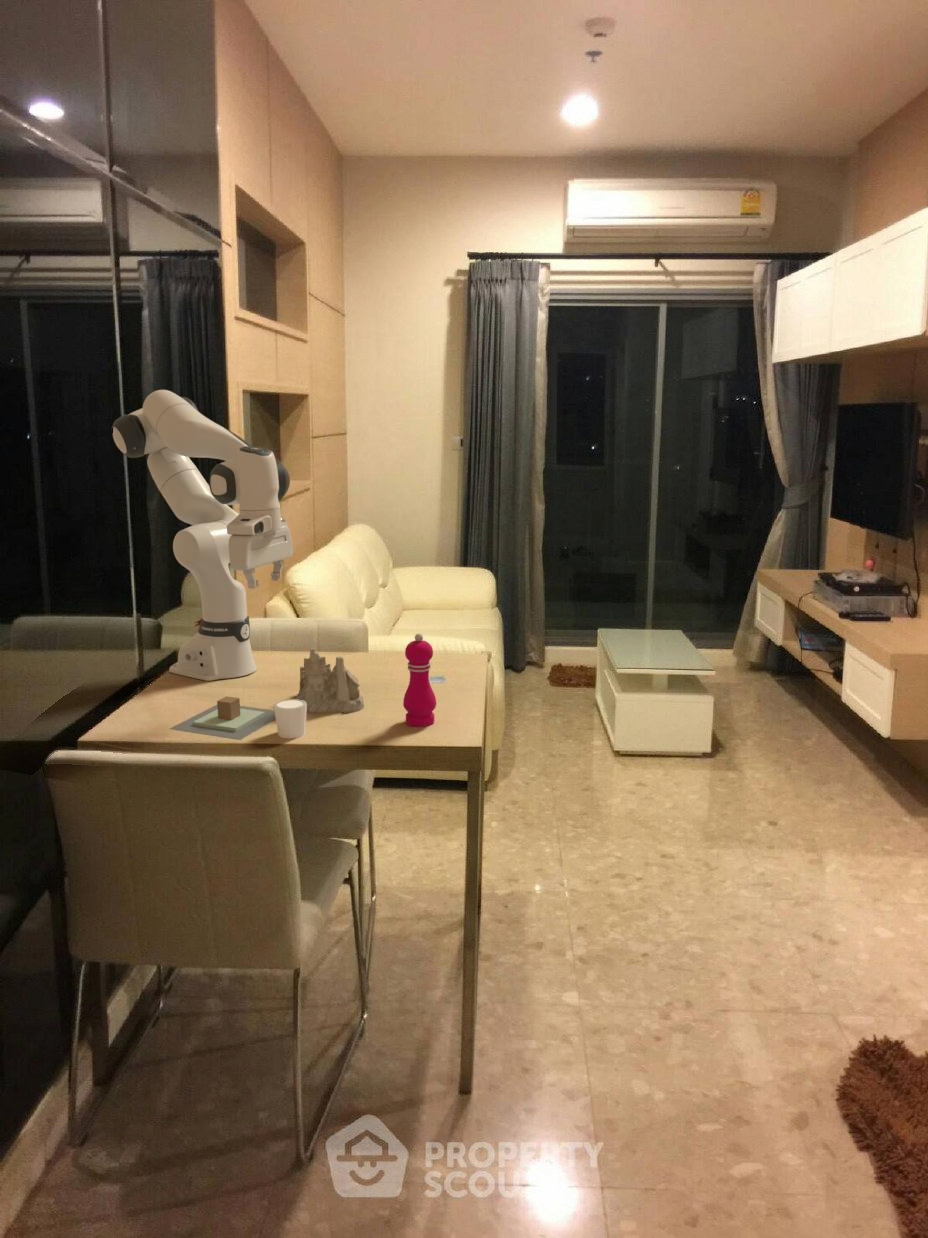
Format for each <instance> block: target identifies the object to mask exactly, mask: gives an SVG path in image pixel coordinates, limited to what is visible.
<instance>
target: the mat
mask: <svg viewBox="0 0 928 1238" xmlns="http://www.w3.org/2000/svg"><path fill="white" fill-rule="evenodd" d="M217 709H218V708H217V704H216V705H213V706H211V707H210V708H208V709H206V710H204V711H201V712H199V713H198V714H195V715H194V716H191V717H189V718H187V719H186V720H183V721H182V722H179V723H178V724H176V725H174V726H171V727H170V728H169V730H175V731H180V732H181V731H182V732H185V733H186V732H187V733H193V734H201V735H206V736H211V737H213V736H214V737H218V738H226V739H232V740H239V741H241V740H244V738H246V737H248V736H249V735H251V734H253V733H255V732H256V731H257V732H258V730H259V729H261V728H263V727H266V726H268V724H270V723H272V722H274V721H276V717H275V711H274V709H273V710H272V709H266V708H258V707H252V706H245V705H240V709H247V710H254V711H261V712H265V716H263V717H261V718H260V719H258V720H256V721H254V722H253V723H251V724H249V725H247V726H246V727H244V728H242V729H240V730H239V731H237V732H233V731H227V730H220V729H213V728H207V727H200V726H194V725H193V722H194V721H196V720H198V719H200V718H201V717H203V716H205V715H207V714H209V713H211V712H213V711H215V710H217Z"/></svg>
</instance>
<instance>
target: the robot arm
mask: <svg viewBox="0 0 928 1238" xmlns="http://www.w3.org/2000/svg"><path fill="white" fill-rule="evenodd" d="M112 428H113V433H112V438H113V441H114V443H115V445H116V447H117V449H118V450H120V452H121V453H122V454H123V455H124V456H126V457H127V458H131V459H133V458H134V459H135V458H140V457H144V456H145V455H147V454H148V457H147V460H146V461H147V467H148V470H149V472H150V475H151V478H152V480H153V481H154V483H155V485H156V487H157V489H158V491H159V492H160V494H161V495H162V497H163V498H164V500H165V501H166V503H167V504H168V506H169V508H170V510H172V512H173V514H174V516H175V517H176V518H177V519H178V520H180V521H182V522H184V523H186V524H189V525H190V526H188V527H185V528H184V529H181V530H179V531H178V532H177V533H176V534H175V536H174V539H173V540H172V541H173V543H172V551H173V555H174V557H175V559H176V561H177V562H178V563H179V564H180V565H181V567H184V568H185V569H186V570H188V571H189V572H190V573H191V575H192V576H193V577H194V580H195V581H196V583H197V586H198V590H199V594H200V602H201V609H202V617H201V618H200V619H199V620H197V621H195V622H194V624H195V625H194V627H198V629H197V632H196V633H195V634H194V635H193V636H192V637H191V638H189V639H188V640H187V641H186V642H184V643H183V644H182V645H181V646H180V648H179V651H178V656H177V662H175V663H174V664H172V665H170V667H169V673H172V674H176V675H179V676H184V677H189V678H193V679H197V680H201V681H202V680H203V681H206V682H208V681H209V682H210V681H216V680H222V679H232V678H233V679H234V678H239V677H243V676H244V677H245V676H247V675H251V674H253V673H254V672H256V671H257V669H258V667H257V665H256V662H255V658H254V655H253V650H252V646H251V640H250V635H251V626H250V625H251V624H250V616H248V607H247V606H248V605H247V590H246V587H245V586H244V584H243V583H242V582H240V581H239V580H238V579H234V577H232V574H231V572H230V569H229V564H230V566H231V568H232V569H233V571H241V572H242V573H243V576H244V578H245V579H246V581H247V589H251V590H253V589H257V588H259V579H256V575H255V573H256V569H257V568H259V567H262V566H266V565H269V564H272V565H273V569H272V572H270V577H271V581H273V582H274V581H276V582H277V581H280V580H282V571H283V569H284V568H283V567H284V564H285V563H284V560H285V559H289V558H292V556H293V555H294V554H293V553H294V547H293V546H294V545H293V538H292V532H291V530H290V529H291V528H290V527H289V526H288V522H287V521H286V520H285V519H284V517H282V511H281V504H280V501H281V500H282V499H283V498H284V497H285V495H287V493H288V491H289V488H290V484H291V477H290V474H289V471H288V469H287V468H286V466H285V465H284V464H283V463H282V462H281V461H280V460H279V459H277V458H276V457H275V454H274V452H273V451H272V450H271V449H269V448H267V447H265V446H257V445H251V444H250V443H249V442H248V441H246V440H244V438H242V437H240V436H239V435H237V434H236V433H234V432H233V431H231V430H230V429H227V428H226V427H223V426H222V425H220V424H218V423H216V422H214V421H213V420H211V419H210V418H208V417H207V416H205V415H203V414H202V413H201V412H200V411H199V409H198V407H197V406H196V404H195V403H194V402H193V400H191V399H190V398H188V397H186V396H179V395H178V394H177V393H175V392H173V391H172V390H168V389H158V390H154V391H153V392H151V393H150V394H148V395H147V397H146V398H145V400H144V402H143V404H142V408H139V409H137V410H135V411H132V412H130V413H129V414H123V415H122V416H120V417H118V418H117V419H115V420H114V422H113V424H112V426H111V429H112ZM191 458H203V459H204V458H206V459H207V458H208V459H217V460H222V461H224V462H221V463H217V464H215V465H214V466H213V468H212V469H211V472H210V474H209V478H208V482H207V481H206V479H205V478H204V476H203V475H202V473H201V472H200V470H199V469H198V468H197V465H195V463H194V462H193V461H192V460H191ZM235 505H239V508H238V512H237V511H236V510H234V509H233V508H232V507H230V506H235Z"/></svg>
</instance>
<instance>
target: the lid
mask: <svg viewBox="0 0 928 1238" xmlns="http://www.w3.org/2000/svg"><path fill="white" fill-rule="evenodd" d="M216 705H217V708H218V709H217V710H215V711H213V712H211V713H209V714H207V715H205V716H203V717H201V718H200V719H198V720H196V721H194V722H193V725H194V726H200V727H207V728H213V729H220V730H227V731H233V732H237V731H239V730H240V729H242V728H244V727H246V726H247V725H249V724H251V723H253V722H254V721H256V720H258V719H260V718H261V717H263V716H265V712H261V711H254V710H247V709H240V706H241V702H240V697H236V696H235V697H233V696H227V695H226V696H224V697H222V698H220V699H218V700H217V701H216Z"/></svg>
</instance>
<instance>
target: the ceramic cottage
mask: <svg viewBox="0 0 928 1238" xmlns="http://www.w3.org/2000/svg"><path fill="white" fill-rule="evenodd" d="M326 661H327V660H326V656H320V654H319V652H316V650H315V648H314V647H311V648H310V651H309V658H308V657H304V658H303V666H299V690H298V693H297V694H296V698H294V699H299V700H303V701H305V702H306V703H307V711H306V712H309V713H319V714H320V713H334V712H335V713H340V712H341V714H351V713H355V712H360V711H362V710H363V709H364V708H365V703H364V697H363V696H362V695H361V694H360V689H359V686H360V683H359V679H358V678H357V677H356V676H355V675H354V674H353V673H351V672H350V671H349V669H347V667H346V666H345V662H344V657H343V656H340V655H338V656H336V657H335V665H334V667H333V668H332V670H331V663H327V662H326ZM326 663H327V664H326Z"/></svg>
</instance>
